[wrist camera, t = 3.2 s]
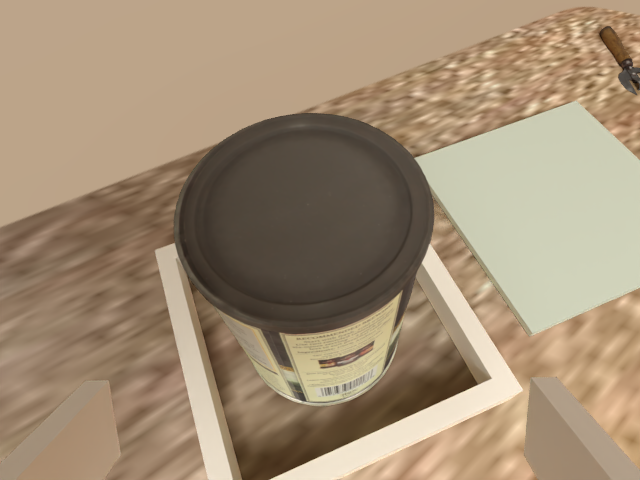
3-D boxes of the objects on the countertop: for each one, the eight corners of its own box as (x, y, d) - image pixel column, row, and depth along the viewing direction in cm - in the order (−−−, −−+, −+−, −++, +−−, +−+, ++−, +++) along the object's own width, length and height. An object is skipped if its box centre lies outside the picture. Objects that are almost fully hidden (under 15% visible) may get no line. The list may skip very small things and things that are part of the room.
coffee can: (320, 234, 33) (305, 79, 21) (430, 324, 29) (489, 196, 17) (213, 328, 30) (121, 207, 18) (320, 446, 26) (296, 393, 13)
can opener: (596, 35, 44) (602, 25, 43) (621, 35, 44) (627, 24, 43) (624, 98, 39) (631, 88, 38) (651, 98, 39) (659, 87, 38)
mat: (529, 336, 28) (532, 333, 28) (410, 164, 36) (411, 159, 36) (724, 250, 31) (730, 245, 30) (573, 106, 39) (576, 100, 38)
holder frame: (231, 529, 24) (220, 531, 21) (167, 267, 32) (154, 250, 30) (508, 399, 26) (523, 390, 24) (380, 189, 35) (382, 169, 33)
